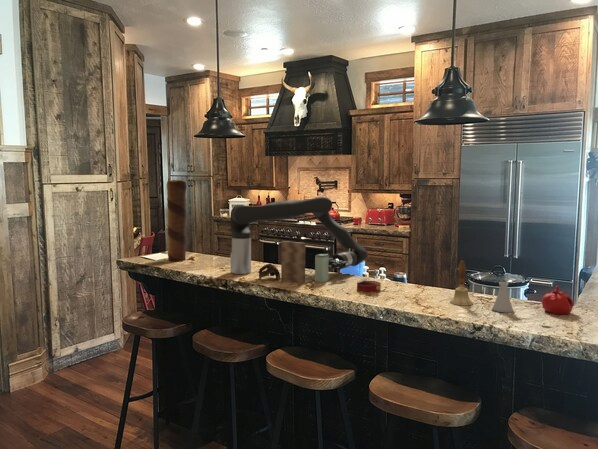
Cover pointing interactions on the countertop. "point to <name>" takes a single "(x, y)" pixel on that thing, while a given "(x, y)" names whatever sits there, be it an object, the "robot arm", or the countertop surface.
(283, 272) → the brown upright block
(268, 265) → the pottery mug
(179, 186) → the wafer roll
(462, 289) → the hand bell
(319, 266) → the grey-green cylinder
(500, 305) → the flask
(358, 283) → the canned food
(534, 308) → the countertop surface
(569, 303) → the pomegranate
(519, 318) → the countertop surface
